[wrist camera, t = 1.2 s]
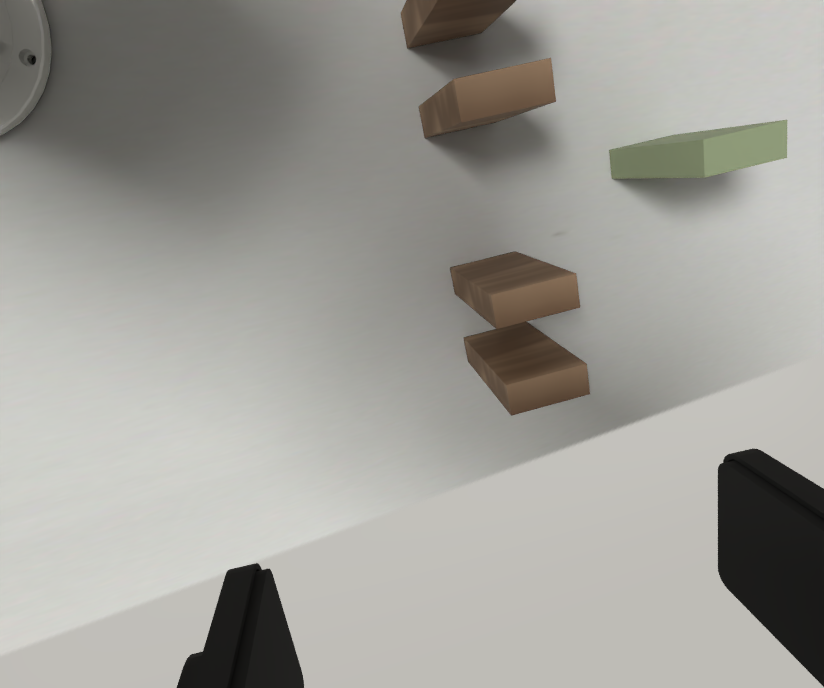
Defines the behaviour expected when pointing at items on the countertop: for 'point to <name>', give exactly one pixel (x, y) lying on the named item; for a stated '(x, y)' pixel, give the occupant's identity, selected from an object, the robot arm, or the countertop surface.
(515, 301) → the domino
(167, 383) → the countertop surface
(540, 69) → the domino
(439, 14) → the domino
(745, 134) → the olive domino
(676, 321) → the countertop surface
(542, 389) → the domino
